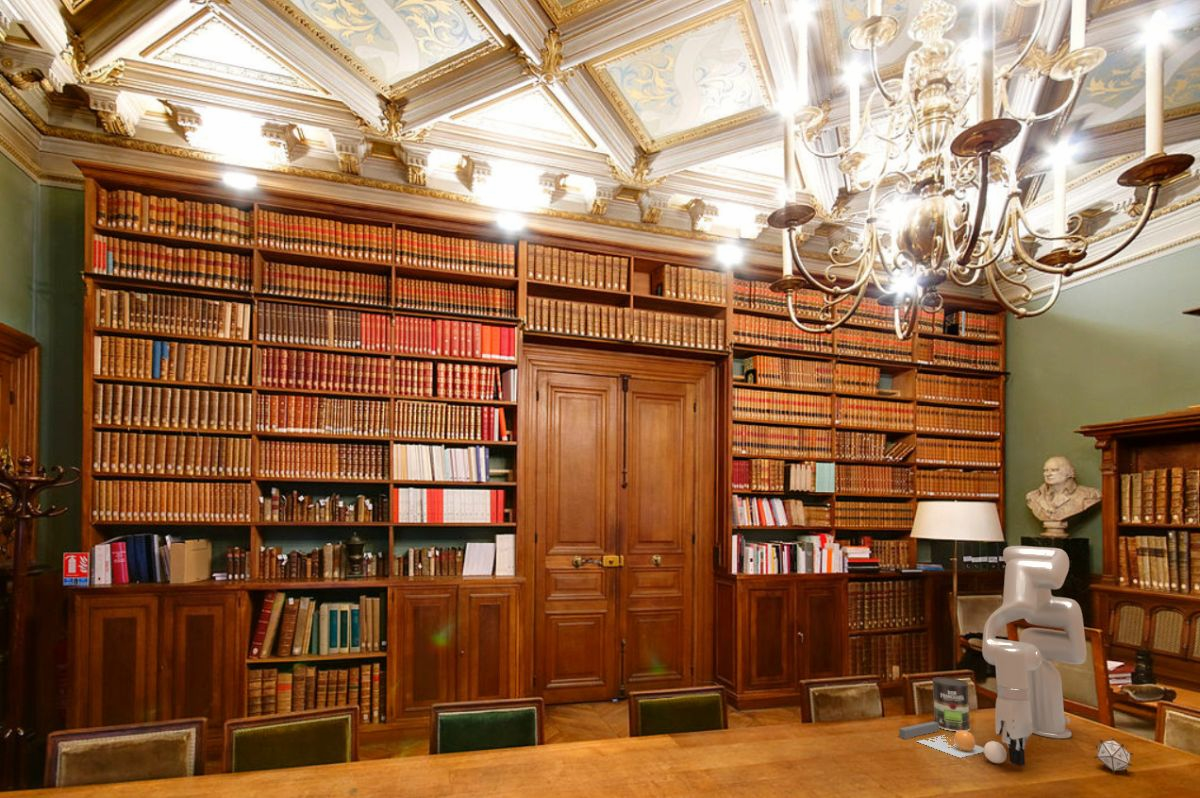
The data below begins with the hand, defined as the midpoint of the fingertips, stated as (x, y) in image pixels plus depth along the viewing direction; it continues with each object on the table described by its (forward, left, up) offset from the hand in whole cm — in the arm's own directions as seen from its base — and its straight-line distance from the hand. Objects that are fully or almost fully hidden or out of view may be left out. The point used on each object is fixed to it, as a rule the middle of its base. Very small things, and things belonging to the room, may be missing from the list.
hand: (1017, 763), depth 181 cm
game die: (-24, +12, -2) cm, 27 cm away
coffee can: (-16, -30, -2) cm, 34 cm away
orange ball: (0, -15, +1) cm, 15 cm away
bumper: (0, -30, -2) cm, 30 cm away
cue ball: (+1, -6, +1) cm, 6 cm away
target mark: (0, -19, -2) cm, 19 cm away
